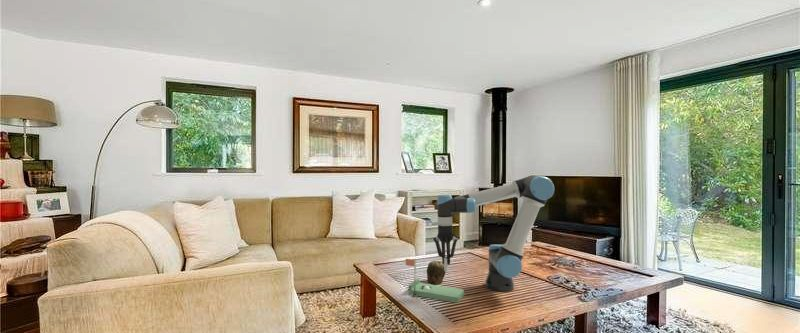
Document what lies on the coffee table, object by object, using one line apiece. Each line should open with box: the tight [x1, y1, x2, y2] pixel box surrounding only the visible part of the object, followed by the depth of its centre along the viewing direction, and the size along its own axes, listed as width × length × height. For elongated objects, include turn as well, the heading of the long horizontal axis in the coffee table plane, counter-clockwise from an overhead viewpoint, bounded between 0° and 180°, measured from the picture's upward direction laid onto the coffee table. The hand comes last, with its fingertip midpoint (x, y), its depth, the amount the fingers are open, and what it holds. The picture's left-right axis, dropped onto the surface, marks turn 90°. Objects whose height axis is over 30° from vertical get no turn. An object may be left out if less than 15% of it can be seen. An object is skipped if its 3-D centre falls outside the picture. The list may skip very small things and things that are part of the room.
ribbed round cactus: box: [426, 260, 447, 285], centre depth 190 cm, size 11×11×12 cm
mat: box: [408, 278, 465, 303], centre depth 171 cm, size 26×12×4 cm, turn 65°
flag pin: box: [405, 258, 418, 298], centre depth 169 cm, size 6×2×19 cm, turn 65°
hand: (446, 270), depth 171 cm, fingers closed
